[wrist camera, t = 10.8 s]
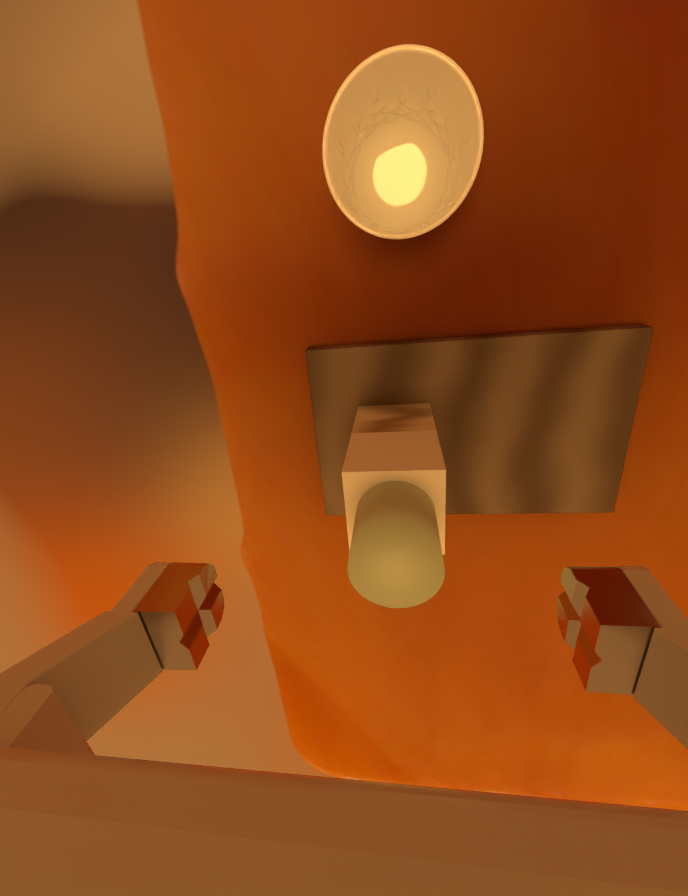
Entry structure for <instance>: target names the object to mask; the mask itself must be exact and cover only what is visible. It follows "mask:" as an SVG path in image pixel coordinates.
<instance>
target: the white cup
mask: <svg viewBox="0 0 688 896" xmlns="http://www.w3.org/2000/svg"><path fill="white" fill-rule="evenodd" d="M483 143H484V125H483V116H482V111H481V106H480V103H479V99H478V96H477V94H476V91H475V89H474V87H473V85H472V83H471V81H470V80H469V78H468V77H467V75H466V74H465V72H464V71H463V70H462V69H461V68H460V67H459V65H458V64H457V63H455V62H454V61H453V60H452V59H451V58H449V57H448V56H447V55H445V54H443V53H442V52H440V51H438V50H436V49H433V48H430V47H427V46H423V45H416V44H404V45H397V46H392V47H389V48H386V49H383V50H381V51H379V52H377V53H375V54H373V55H372V56H370V57H368V58H367V59H366V60H364V61H363V62H362V63H361V64H359V65H358V66H357V67H356V68H355V69H354V70H353V71H352V72H351V73H350V75H349V76H348V77H347V78H346V80H345V81H344V82H343V84H342V85H341V87H340V88H339V90H338V92H337V94H336V95H335V97H334V100H333V102H332V104H331V107H330V109H329V112H328V115H327V119H326V123H325V128H324V134H323V145H322V155H323V166H324V172H325V176H326V180H327V183H328V186H329V189H330V192H331V194H332V196H333V198H334V200H335V202H336V203H337V205H338V207H339V208H340V209H341V211H342V212H343V213H344V215H345V216H346V217H347V218H348V219H349V220H350V221H351V222H352V223H354V224H355V225H356V226H357V227H359V228H360V229H362V230H364V231H365V232H367V233H369V234H372V235H374V236H377V237H381V238H386V239H407V238H412V237H416V236H419V235H422V234H424V233H426V232H429V231H430V230H432V229H434V228H436V227H437V226H439V225H440V224H441V223H443V222H444V221H445V220H446V219H448V218H449V217H450V216H451V215H452V214H453V213H454V212H455V210H456V209H457V208H458V207H459V206H460V204H461V203H462V202H463V200H464V199H465V197H466V196H467V194H468V192H469V190H470V189H471V187H472V185H473V182H474V180H475V178H476V175H477V172H478V169H479V166H480V162H481V157H482V152H483Z"/></svg>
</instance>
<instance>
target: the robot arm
mask: <svg viewBox="0 0 688 896" xmlns="http://www.w3.org/2000/svg"><path fill="white" fill-rule="evenodd" d="M216 577H217V574H216V571H215V568H214V566H213V565H211V564H206V563H175V562H173V563H164V562H155V563H152V564H150V565H149V566H148V567H147V568H146V569H145V571H144V572H143V573H142V574H141V576H140V577H139V578H138V579H137V580H136V582H135V583H134V584H133V585H132V587H131V588H130V589H129V590H128V592H127V593H126V594H125V595H124V596H123V598H122V599H121V600H120V601H119V602H118V604H117V605H116V606H115V607H114V609H113V610H112V611H111V612H107V611H106V612H103V613H102V614H100V615H98V616H97V617H95V618H93V619H92V620H90V621H88V622H86V623H85V624H83V625H81V626H80V627H78V628H76V629H75V630H73V631H71V632H70V633H68V634H66V635H64V636H63V637H61V638H59V639H58V640H56V641H54V642H53V643H51V644H49V645H48V646H46V647H44V648H43V649H41V650H39V651H37V652H36V653H34V654H32V655H31V656H29V657H27V658H26V659H24V660H22V661H20V662H19V663H17V664H15V665H14V666H12V667H10V668H9V669H7V670H5V671H4V672H2V673H0V896H688V811H682V810H671V809H660V808H650V807H639V806H628V805H618V804H607V803H597V802H586V801H575V800H565V799H554V798H543V797H533V796H522V795H512V794H501V793H490V792H480V791H469V790H458V789H448V788H437V787H427V786H416V785H405V784H395V783H384V782H373V781H363V780H352V779H341V778H330V777H320V776H309V775H298V774H287V773H276V772H266V771H254V770H244V769H234V768H223V767H212V766H202V765H192V764H180V763H170V762H160V761H149V760H139V759H128V758H118V757H107V756H96V755H95V754H94V753H93V751H92V749H91V748H90V746H89V745H88V743H87V740H88V739H89V738H90V737H91V736H93V734H95V733H96V732H97V731H98V730H99V729H100V728H101V727H102V726H104V725H105V724H106V723H107V722H108V721H109V720H110V719H111V718H112V717H113V716H114V715H115V714H117V713H118V712H119V711H120V710H121V709H122V708H123V707H124V706H125V705H127V704H128V702H130V701H131V700H132V699H133V698H134V697H135V696H136V695H137V694H138V693H140V692H141V691H142V690H143V689H144V688H145V687H146V686H147V685H148V684H149V683H150V682H152V681H153V680H154V679H155V678H156V677H157V676H158V675H159V674H160V673H161V672H162V671H163V670H162V669H171V670H172V669H173V670H197V668H198V666H199V664H200V662H201V660H202V658H203V656H204V654H205V652H206V650H207V648H208V646H209V642H208V639H207V636H209V635H210V634H211V633H213V632H214V631H215V630H216V629H217V628H218V626H219V624H220V622H221V619H222V615H223V610H224V597H223V593H222V590H221V589H220V588H219V587H218V586H217V585H216V584H215V583H214V581H215V579H216ZM561 583H562V585H563V587H564V589H565V591H564V592H563V593H562V594H560V595H559V596H558V602H557V616H558V623H559V627H560V630H561V633H562V636H563V638H564V641H565V642H566V643H567V644H568V645H570V646H571V647H572V648H573V649H574V650H575V652H574V657H573V662H574V665H575V667H576V669H577V672H578V674H579V676H580V679H581V681H582V683H583V686H584V688H585V690H586V691H590V692H602V693H614V694H627V695H634V696H633V698H634V699H635V700H637V701H638V702H639V703H640V704H641V705H642V706H643V707H644V708H645V709H646V710H647V711H648V712H649V713H650V714H651V715H652V716H653V717H654V718H656V719H657V720H658V721H659V722H660V723H661V724H662V725H663V726H664V727H665V728H666V729H667V730H668V731H669V732H670V733H671V734H672V735H673V736H675V737H676V738H677V739H678V740H679V741H680V742H681V743H682V744H683V745H684V746H685V747H686V748H687V749H688V619H687V618H686V617H685V616H684V614H683V613H682V612H681V611H680V609H679V608H678V607H677V605H676V604H675V603H674V602H673V600H672V599H671V598H670V597H669V595H668V594H667V593H666V592H665V590H664V589H663V588H662V586H661V585H660V584H659V583H658V581H657V580H656V579H655V578H654V576H653V575H652V574H651V573H650V571H649V570H648V569H646V568H645V567H643V566H616V567H565V568H564V570H563V571H562V576H561Z"/></svg>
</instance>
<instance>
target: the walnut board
mask: <svg viewBox="0 0 688 896" xmlns="http://www.w3.org/2000/svg"><path fill="white" fill-rule="evenodd" d="M652 332H653V327H651V326H647V325H643V324H638V325H624V326H609V327H594V328H580V329H565V330H551V331H536V332H522V333H507V334H493V335H478V336H464V337H449V338H435V339H420V340H405V341H391V342H376V343H362V344H347V345H333V346H318V347H308V348H307V349H306V350H305V352H306V360H307V368H308V376H309V384H310V392H311V400H312V408H313V416H314V424H315V432H316V440H317V448H318V456H319V464H320V472H321V480H322V488H323V496H324V504H325V512H326V515H346V511H345V501H344V491H343V481H342V469H343V465H344V461H345V457H346V453H347V449H348V445H349V441H350V437H351V433H352V429H353V425H354V422H355V418H356V414H357V410H358V406H378V405H399V404H421V403H430V406H431V410H432V414H433V418H434V422H435V426H436V430H437V434H438V439H439V443H440V447H441V451H442V455H443V459H444V463H445V467H446V503H445V514H503V513H610V512H614V508H615V503H616V498H617V494H618V489H619V484H620V480H621V475H622V471H623V466H624V461H625V457H626V452H627V447H628V443H629V438H630V433H631V429H632V424H633V420H634V415H635V410H636V406H637V401H638V396H639V392H640V387H641V383H642V378H643V373H644V369H645V364H646V359H647V355H648V350H649V346H650V341H651V336H652Z"/></svg>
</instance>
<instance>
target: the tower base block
mask: <svg viewBox="0 0 688 896" xmlns="http://www.w3.org/2000/svg"><path fill="white" fill-rule="evenodd" d="M424 430H436V426H435V422H434V418H433V414H432V410H431V406H430V403H421V404H399V405H378V406H358V410H357V414H356V418H355V422H354V425H353V429H352V433H371V432H398V431H424Z"/></svg>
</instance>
